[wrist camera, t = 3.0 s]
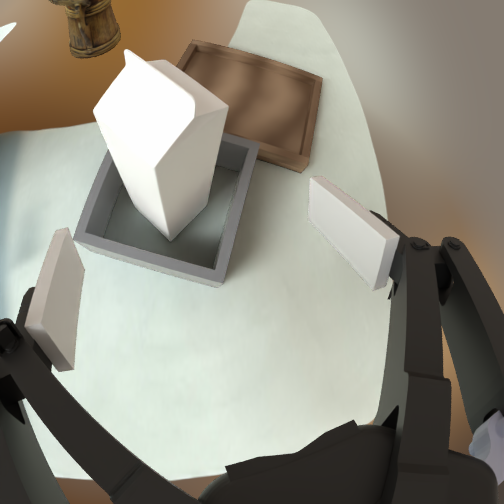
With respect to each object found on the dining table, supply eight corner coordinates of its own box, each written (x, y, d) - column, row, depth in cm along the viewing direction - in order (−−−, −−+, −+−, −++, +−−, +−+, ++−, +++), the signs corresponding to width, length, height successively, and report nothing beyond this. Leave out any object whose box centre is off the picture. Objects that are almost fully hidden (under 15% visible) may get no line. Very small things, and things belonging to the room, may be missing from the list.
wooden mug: (60, 84, 34) (25, -4, 16) (76, 31, 36) (58, -47, 19) (114, 73, 36) (97, -25, 18) (124, 22, 38) (117, -61, 21)
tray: (149, 129, 35) (148, 119, 33) (191, 50, 39) (192, 39, 36) (300, 173, 38) (308, 165, 36) (316, 87, 42) (322, 78, 39)
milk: (170, 242, 34) (146, 141, 12) (134, 206, 33) (77, 79, 12) (208, 204, 35) (240, 72, 14) (171, 171, 35) (164, 23, 14)
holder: (90, 251, 31) (72, 239, 26) (134, 137, 35) (128, 109, 29) (217, 287, 34) (223, 283, 28) (249, 167, 37) (260, 143, 31)
